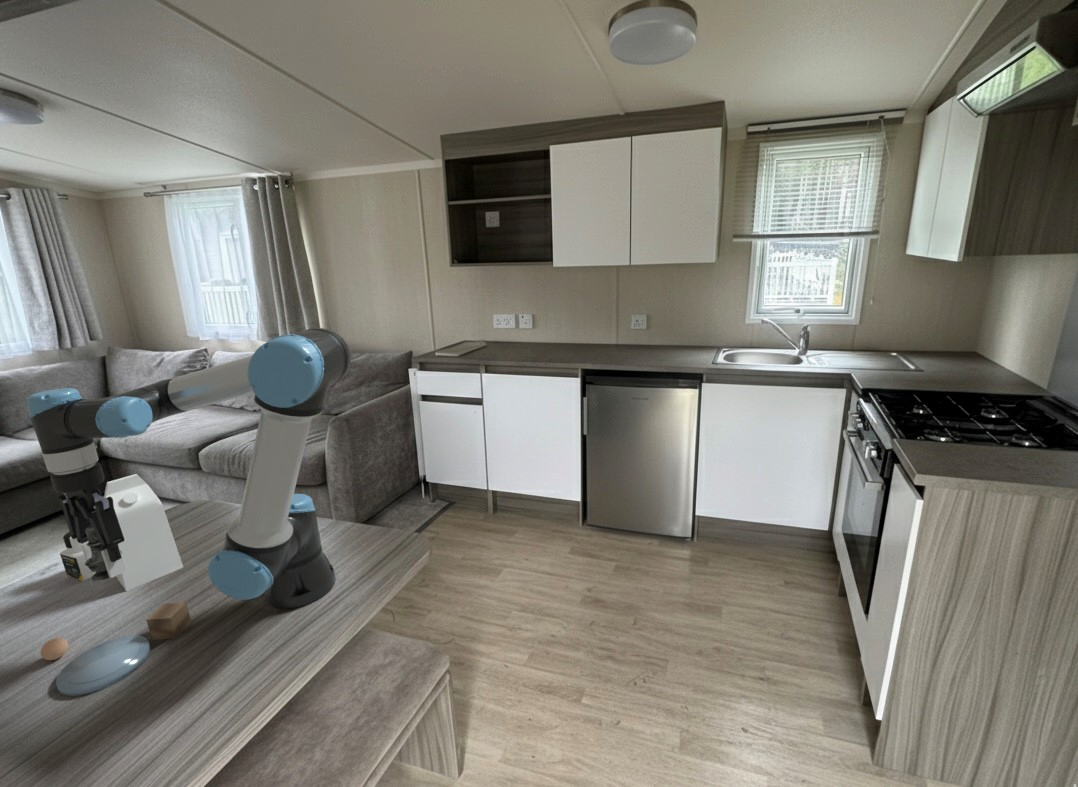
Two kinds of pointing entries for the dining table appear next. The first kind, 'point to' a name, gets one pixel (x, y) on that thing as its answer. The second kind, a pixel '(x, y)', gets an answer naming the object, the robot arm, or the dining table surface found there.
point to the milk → (142, 532)
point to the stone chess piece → (96, 556)
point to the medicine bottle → (74, 559)
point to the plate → (103, 665)
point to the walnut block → (168, 621)
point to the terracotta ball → (54, 648)
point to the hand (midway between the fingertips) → (107, 571)
